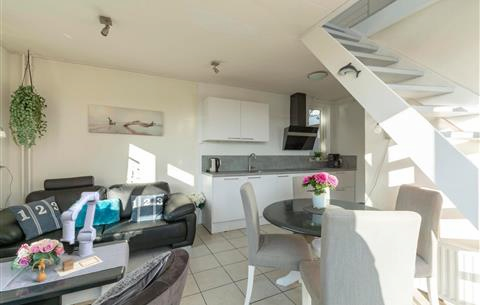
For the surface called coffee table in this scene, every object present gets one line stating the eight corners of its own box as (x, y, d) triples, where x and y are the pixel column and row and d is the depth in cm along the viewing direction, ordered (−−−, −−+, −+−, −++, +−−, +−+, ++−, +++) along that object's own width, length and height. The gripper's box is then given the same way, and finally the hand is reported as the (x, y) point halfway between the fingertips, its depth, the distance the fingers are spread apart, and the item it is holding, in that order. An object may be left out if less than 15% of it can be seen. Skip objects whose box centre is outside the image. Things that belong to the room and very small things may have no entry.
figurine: (31, 285, 114) (32, 263, 114) (30, 281, 118) (31, 259, 118) (51, 278, 120) (52, 257, 120) (50, 274, 124) (51, 254, 124)
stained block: (62, 269, 129) (62, 261, 129) (71, 266, 133) (71, 258, 133) (64, 271, 127) (64, 263, 127) (73, 268, 130) (73, 260, 130)
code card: (54, 269, 130) (54, 268, 130) (95, 255, 147) (95, 255, 147) (60, 276, 122) (60, 276, 122) (103, 261, 139) (103, 261, 139)
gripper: (57, 229, 131) (56, 251, 131) (63, 235, 123) (63, 258, 122) (71, 226, 137) (70, 247, 137) (78, 231, 128) (78, 254, 128)
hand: (68, 252), depth 130 cm, fingers open, 7 cm apart
